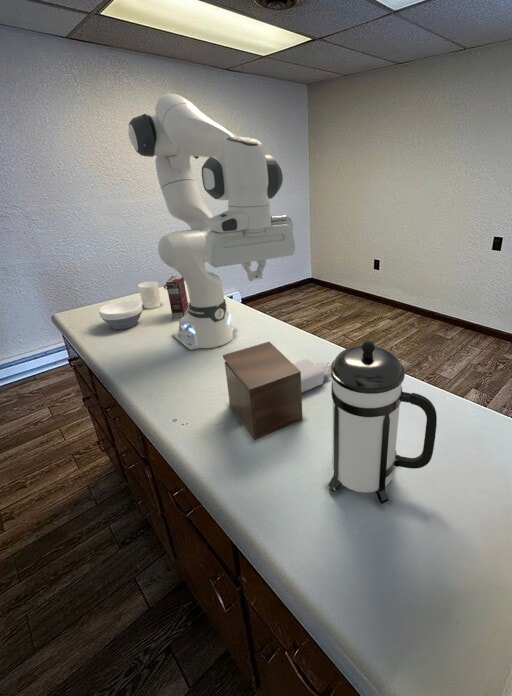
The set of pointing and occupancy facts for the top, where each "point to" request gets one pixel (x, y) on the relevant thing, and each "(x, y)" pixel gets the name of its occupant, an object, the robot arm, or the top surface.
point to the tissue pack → (311, 373)
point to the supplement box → (177, 297)
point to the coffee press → (371, 419)
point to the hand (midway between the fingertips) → (255, 279)
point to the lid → (260, 366)
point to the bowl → (121, 313)
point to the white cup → (150, 294)
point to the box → (265, 404)
